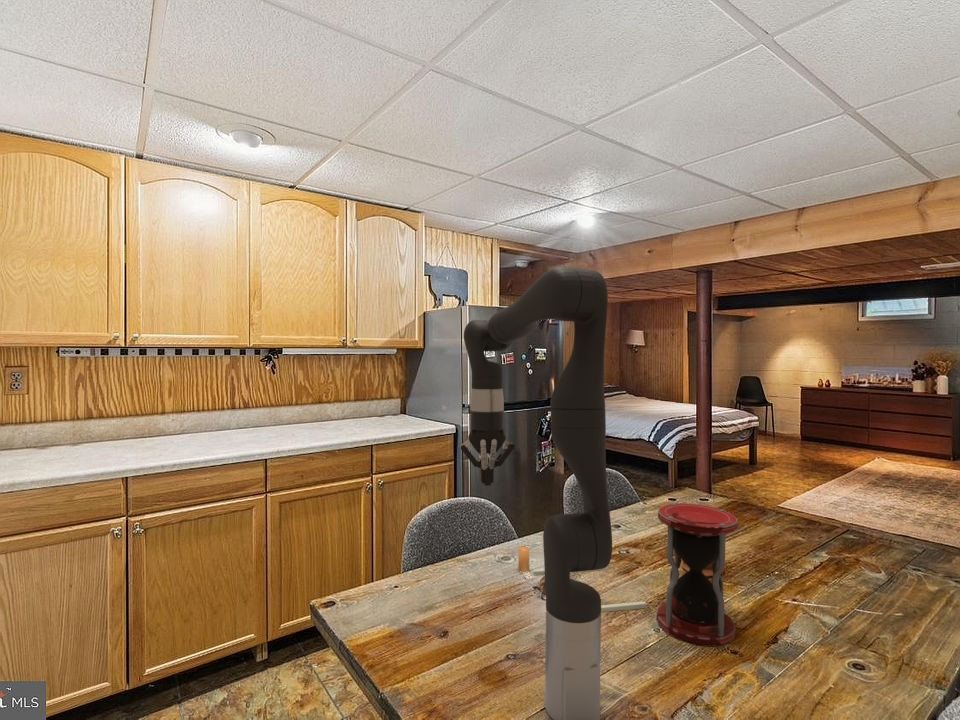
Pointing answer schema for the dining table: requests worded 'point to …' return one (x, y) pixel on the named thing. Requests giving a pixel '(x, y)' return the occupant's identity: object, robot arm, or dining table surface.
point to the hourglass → (696, 574)
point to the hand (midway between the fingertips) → (486, 484)
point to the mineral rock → (542, 585)
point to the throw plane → (524, 567)
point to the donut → (706, 571)
